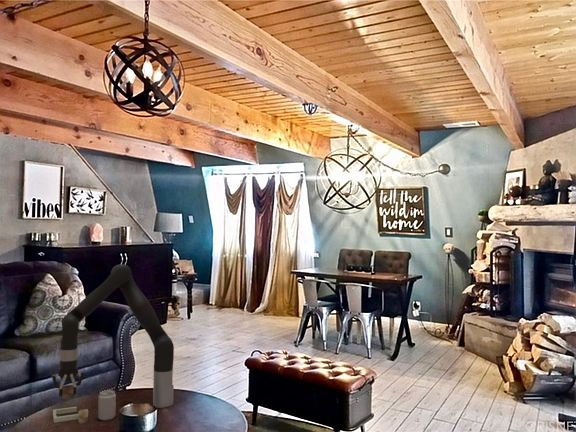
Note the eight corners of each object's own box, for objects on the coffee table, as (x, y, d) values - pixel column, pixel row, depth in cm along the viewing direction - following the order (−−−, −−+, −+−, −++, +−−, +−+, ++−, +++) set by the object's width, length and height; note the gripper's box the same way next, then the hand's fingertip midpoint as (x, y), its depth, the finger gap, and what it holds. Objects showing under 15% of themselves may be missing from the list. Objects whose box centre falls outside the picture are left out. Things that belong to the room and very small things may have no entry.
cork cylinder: (87, 419, 221) (87, 408, 221) (88, 422, 217) (88, 411, 217) (77, 421, 219) (78, 409, 219) (78, 424, 215) (79, 412, 215)
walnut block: (72, 394, 227) (72, 384, 227) (73, 397, 223) (73, 387, 223) (61, 395, 225) (62, 385, 225) (62, 398, 221) (62, 388, 221)
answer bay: (76, 410, 231) (76, 406, 231) (78, 419, 221) (78, 414, 221) (52, 414, 226) (52, 409, 226) (53, 422, 216) (54, 418, 216)
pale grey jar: (109, 422, 218) (110, 395, 219) (94, 420, 220) (95, 393, 220) (118, 415, 226) (119, 389, 226) (104, 414, 227) (104, 388, 227)
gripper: (84, 355, 231) (83, 391, 231) (51, 358, 225) (50, 395, 224) (86, 358, 225) (84, 396, 224) (52, 362, 218) (50, 400, 218)
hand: (67, 395), depth 224 cm, fingers closed on walnut block, 4 cm apart
